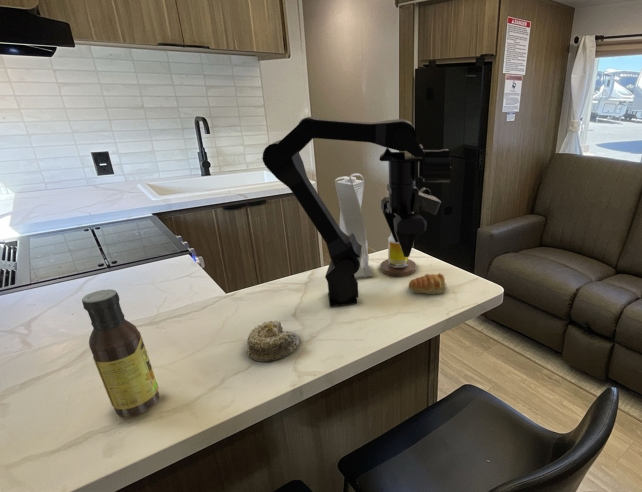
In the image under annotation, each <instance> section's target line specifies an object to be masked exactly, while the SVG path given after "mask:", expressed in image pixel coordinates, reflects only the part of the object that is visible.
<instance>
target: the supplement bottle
mask: <svg viewBox="0 0 642 492" xmlns="http://www.w3.org/2000/svg"><path fill="white" fill-rule="evenodd" d="M387 251H388V252H387V253H388V255H387V256H388V257H387V258H388V263H389V265H390V266H391V267H393V268H403V267H406V266H407V265H408V259H409V257H404V255H403V252H402V250H401V247H400V244H399V242H395V240H394V238H393V235H392V233H391V232H390V236H388V239H387Z"/></svg>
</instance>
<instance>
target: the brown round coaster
mask: <svg viewBox="0 0 642 492" xmlns="http://www.w3.org/2000/svg"><path fill="white" fill-rule="evenodd" d="M416 270H417V265H416V262H415V261H414V260H412V259H410V258H408V265H407V266H406V267H403V268H393V267H391V266H390V265H389V263H388V259H384V260H383V261H381V263H380V272H382V274H384V275H386V276H390V277H406V276H411V275H413V274H414V273H415V272H416Z"/></svg>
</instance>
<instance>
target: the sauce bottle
mask: <svg viewBox="0 0 642 492" xmlns="http://www.w3.org/2000/svg"><path fill="white" fill-rule="evenodd" d="M81 303H82V306H83V309H84V310H85V311H87V314H88V317H89V319H90V325H91V326H92V328H93V329H92V331H91V333H90V335H89V340H88V346H89V349H90V352H91V354H92V359H93V361H94V362H93V363H94V364H95V367H96V369H97V372H98V374H99V377H100V380H101V382H102V385H103V388H104V389H105V392H106V394H107V397H108V399H109V403H110V405H111V406H112V407H113V410H114V412H115V413H116V415H118V417H120V418H133V417H137V416H139V415H142V414H144V413H146V412H148V411H150V409H152V408H153V407H154V406H156V405H157V403H158V402H159V400H160V392H159V385H158V381H157V378H156V376H155V372H154V370H153V366H152V363H151V360H150V357H149V354H148V351H147V348H146V345H145V343H144V340H143V337H142V334H141V332H140V330H139V329H138V328H137V326H136V325H134V323H132V322H130V321H128V320H127V319H126V318H125V314H124V312H123V310H122V307H121V304H120V295H119V293H118V292H117V290H115V289H110V288H109V289H100V290H96V291H92V292H90V293H88V294H86V295H84V296H83V297H82V299H81Z"/></svg>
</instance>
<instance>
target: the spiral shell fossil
mask: <svg viewBox="0 0 642 492" xmlns="http://www.w3.org/2000/svg"><path fill="white" fill-rule="evenodd" d="M246 343H247V348H246V355H247V357H248V358H249V359H250V360H253V361H257V362H272V361H277V360H279V359H281V358H284V357H287V356H288V355H290V354H292V353H293V352H294V351H295V350H296V349H297V348H298V346H299V344H300V337H299V335H298V334H297V333H294V332H292V331H288V330H284V327H283V326H282V323H281V320H273V321H272V320H268V321H267V322H266V321H264V322H262V323H261V324H258V325H257V326H256V327H254V328H253V329H251V332H249V334H248V337H247V341H246Z"/></svg>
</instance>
